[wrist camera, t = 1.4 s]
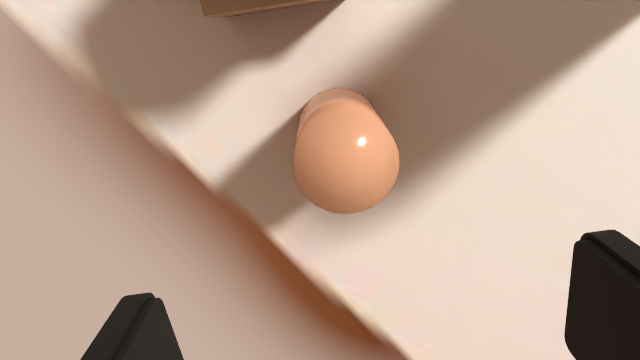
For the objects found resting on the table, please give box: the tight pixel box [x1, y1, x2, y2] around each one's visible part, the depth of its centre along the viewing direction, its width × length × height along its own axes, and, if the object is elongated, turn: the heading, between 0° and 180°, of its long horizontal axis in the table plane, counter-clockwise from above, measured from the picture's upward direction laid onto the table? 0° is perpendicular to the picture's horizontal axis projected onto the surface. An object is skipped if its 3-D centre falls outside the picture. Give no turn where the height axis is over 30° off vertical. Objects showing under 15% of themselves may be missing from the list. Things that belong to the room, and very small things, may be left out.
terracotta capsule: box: [293, 88, 400, 213], centre depth 22 cm, size 5×5×7 cm
